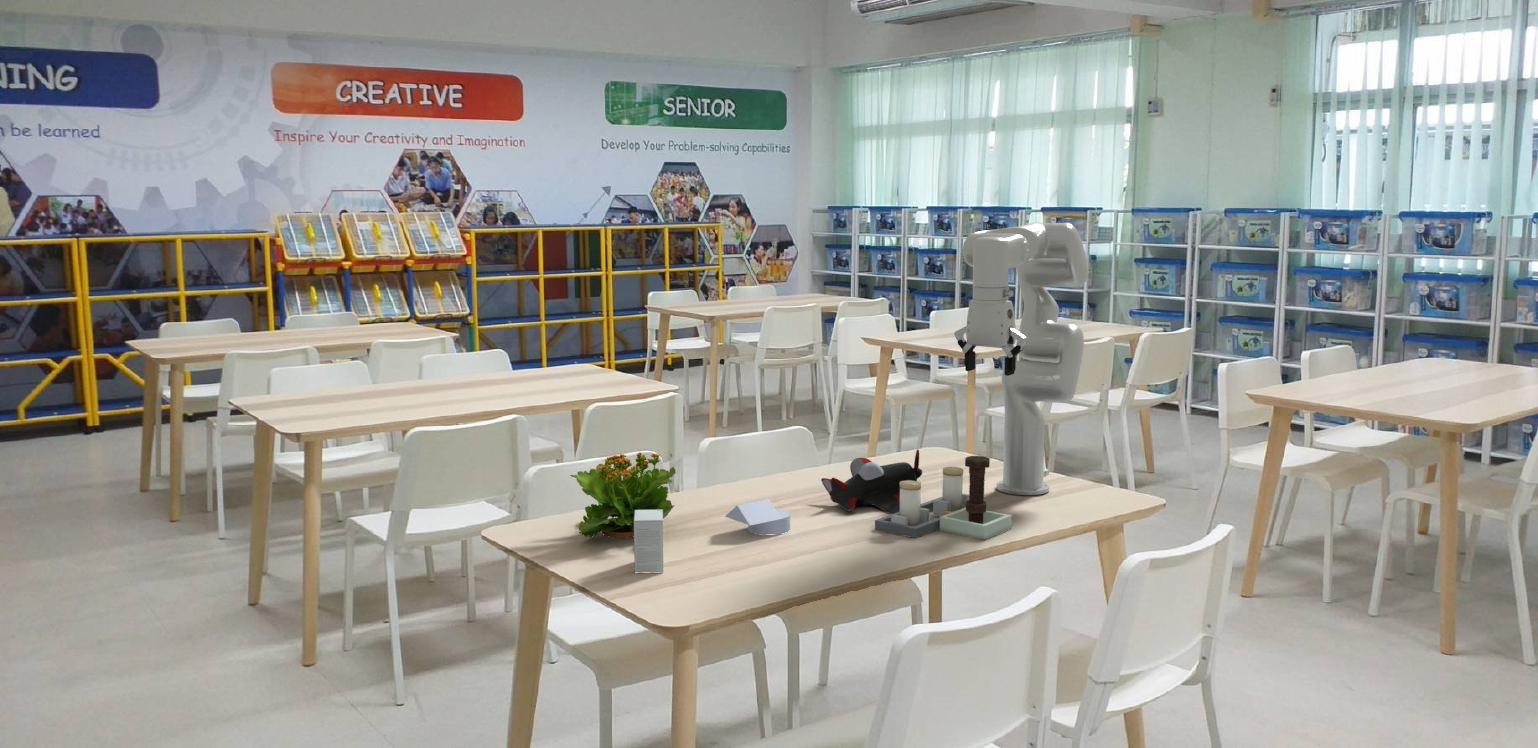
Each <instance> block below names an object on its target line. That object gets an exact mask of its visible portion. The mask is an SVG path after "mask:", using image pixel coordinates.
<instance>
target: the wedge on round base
mask: <svg viewBox="0 0 1538 748" xmlns="http://www.w3.org/2000/svg"><path fill="white" fill-rule="evenodd" d="M724 517H726V518H727V519H730V520H734V521H736V522H739V523H742V524H745V525H747V527H748V528H747V529H749V530H748V532H750V533H751V532H752V534H754V533H756V534H755V535H759V534H779V535H783V534H782V533H784V534H786V533H785V532H787V533H789V532H790V531H791V513H790V512H789V511H787V510H784V509H777V508H776V507H775V506H774V504H773V503H772V501H771V499H770V498H767V499H764V500H763V499H762V500H757V501H751V502H746V503H743V504H737V505H736V506H735V507H733V508H732V509H731V510H730V511H729V512H728V513H727V514H726V515H724ZM789 530H790V531H789ZM788 531H789V532H788Z"/></svg>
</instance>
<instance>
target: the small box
mask: <svg viewBox="0 0 1538 748" xmlns="http://www.w3.org/2000/svg"><path fill="white" fill-rule="evenodd" d="M633 550H634V551H633V553H634V555H633V556H634V573H635V572H663V573H664V519H663V510H635V511H634V537H633Z"/></svg>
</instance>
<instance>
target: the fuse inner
mask: <svg viewBox="0 0 1538 748" xmlns="http://www.w3.org/2000/svg"><path fill="white" fill-rule="evenodd" d="M963 477H964V468H962V467H958V466H945V467H942V496H941V497H942V500H945V501H950V502H951V504H950V512H954V511H957V510H960V509H962V494H963V481H964V480H963V479H964V478H963Z"/></svg>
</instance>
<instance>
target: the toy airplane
mask: <svg viewBox="0 0 1538 748" xmlns="http://www.w3.org/2000/svg"><path fill="white" fill-rule="evenodd" d="M919 465H920V450H919V449H918V448H917V449H916V451H915V456H914V462H913V466H912V465H911V464H910V463H908V462H906V461H904V462H902V461H901V462H896V463H895V462H894V463H890V464H884V465H879V464H878V463H876V462H874V461H872V460H870V459H869V458H868V457H856V458H854V459H853V460H852V461H851V463H850V465H849V466H850V467H849V468H850V469H849V470H850V474H851V477H850V478H849V479H847V480H846V481H845V482H843V481H842V480H840V479H838V478H837V477H832V478H825V477H822V478H821V479H820V480H821V483H822V485H823V487H824V488H825V490H826V492H827V493H828V495H829V496H830V500H831V501H832V502H833V503H836V504H838V505H839V506H840V507H841V508H843V509H844V510H845V511H847V512H852V511H853V510H854V509H855V507H868V506H875V507H876V508H879V509H880V510H882V511H884V512H886V513H888V514H889V515H891V514H894V513H897V512H900V487H899V484H900V482H901V481H906V480H912V481H918V479H919V478H920V477H921V476H922V475H923V470H922V469H921V468H919Z"/></svg>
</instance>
